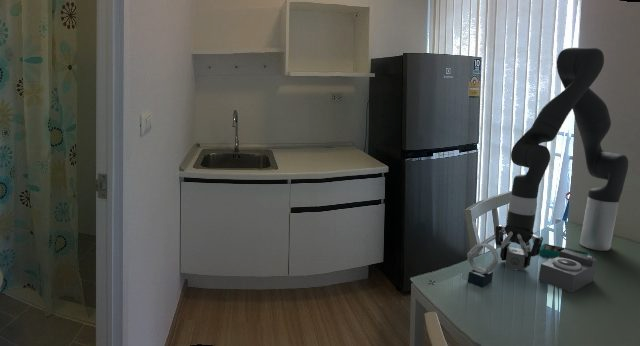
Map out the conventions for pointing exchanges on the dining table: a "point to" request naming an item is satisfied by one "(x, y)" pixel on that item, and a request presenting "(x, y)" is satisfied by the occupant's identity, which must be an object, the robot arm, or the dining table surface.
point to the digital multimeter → (556, 251)
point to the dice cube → (515, 258)
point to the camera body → (568, 271)
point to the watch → (479, 274)
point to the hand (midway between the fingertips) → (514, 263)
